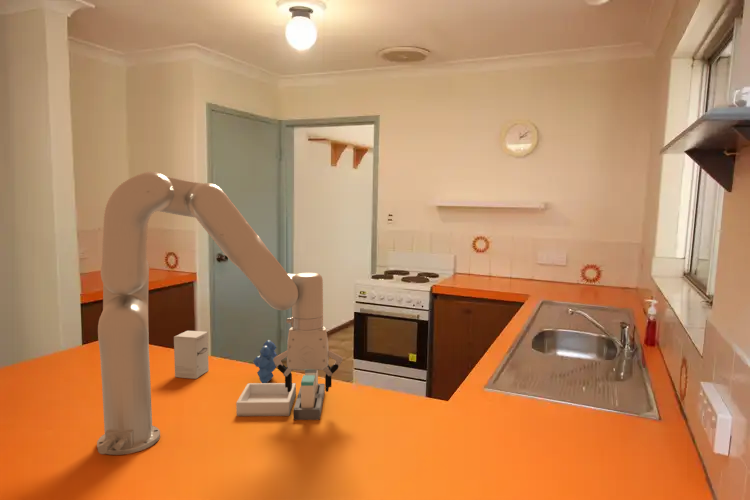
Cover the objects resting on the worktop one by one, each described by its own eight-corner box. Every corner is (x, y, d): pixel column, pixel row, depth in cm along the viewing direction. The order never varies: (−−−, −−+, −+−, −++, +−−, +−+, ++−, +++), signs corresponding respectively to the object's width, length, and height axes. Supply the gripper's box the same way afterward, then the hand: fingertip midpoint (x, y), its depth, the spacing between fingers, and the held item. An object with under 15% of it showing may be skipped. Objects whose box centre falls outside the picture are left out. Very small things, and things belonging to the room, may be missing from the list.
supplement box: (196, 379, 153) (195, 337, 152) (174, 377, 155) (172, 336, 153) (209, 371, 160) (208, 331, 159) (187, 369, 162) (186, 329, 160)
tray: (289, 415, 129) (289, 402, 128) (236, 416, 128) (236, 402, 128) (295, 395, 141) (295, 383, 141) (248, 395, 141) (247, 383, 141)
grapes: (259, 373, 158) (259, 335, 157) (281, 374, 157) (281, 336, 156) (246, 387, 147) (245, 346, 145) (269, 389, 146) (269, 347, 145)
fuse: (316, 402, 137) (316, 370, 136) (305, 402, 137) (304, 370, 136) (318, 394, 142) (317, 363, 141) (307, 394, 142) (306, 363, 141)
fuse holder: (319, 419, 127) (319, 409, 126) (293, 419, 126) (293, 409, 126) (324, 392, 144) (324, 383, 144) (301, 392, 144) (301, 383, 143)
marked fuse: (313, 416, 128) (313, 382, 127) (301, 416, 128) (300, 382, 127) (315, 408, 133) (315, 375, 132) (303, 408, 133) (303, 375, 132)
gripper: (269, 326, 124) (271, 396, 126) (342, 326, 125) (342, 395, 127) (275, 319, 132) (276, 384, 134) (343, 319, 132) (343, 384, 134)
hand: (308, 389), depth 130 cm, fingers open, 9 cm apart
